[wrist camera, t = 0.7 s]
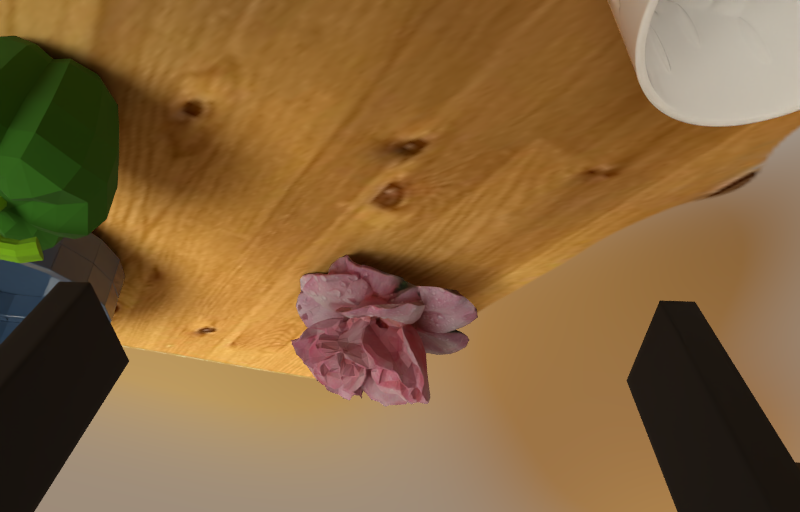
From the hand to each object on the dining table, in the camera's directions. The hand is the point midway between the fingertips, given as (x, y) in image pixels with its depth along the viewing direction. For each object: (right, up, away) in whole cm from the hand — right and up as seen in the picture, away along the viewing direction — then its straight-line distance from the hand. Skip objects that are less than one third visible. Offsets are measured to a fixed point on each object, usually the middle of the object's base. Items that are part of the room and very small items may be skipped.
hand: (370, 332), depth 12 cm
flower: (-1, 0, +30) cm, 30 cm away
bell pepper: (-17, +10, +13) cm, 23 cm away
